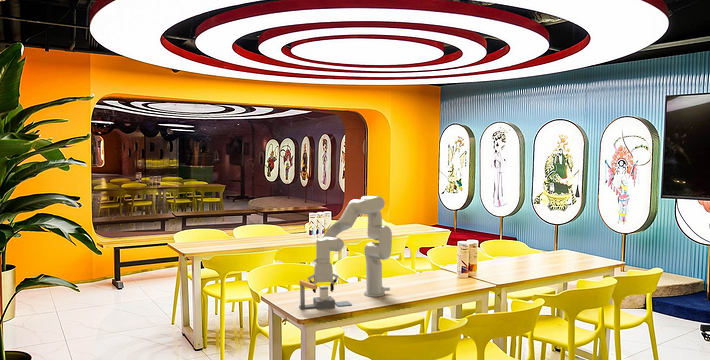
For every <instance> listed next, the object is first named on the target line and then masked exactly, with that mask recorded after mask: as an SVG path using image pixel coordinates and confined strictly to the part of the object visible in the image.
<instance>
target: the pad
mask: <svg viewBox="0 0 710 360" xmlns="http://www.w3.org/2000/svg"><path fill="white" fill-rule="evenodd" d="M335 306H337V307H338V308H339V307H350V306H353V304H352V303H351V302H350V301H349V300H345V301H344V300H343V301H335Z"/></svg>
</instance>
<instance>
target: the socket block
mask: <svg viewBox="0 0 710 360" xmlns="http://www.w3.org/2000/svg"><path fill="white" fill-rule="evenodd" d="M305 289H306V287H305V286H302V285H300V284H299V290H300V291H299V292H300V293H299V296H300V298H299V300H300V302H299V305H298V308H299V310H310V309H311V310H312V309H316V310H322V309H323V310H325V309H333V308H334V309H335V308H336V304H335V302H336V300H335V299H334V297H332V296H331V295H328V300H320V296H317V297H313V299H312V304H310V303H309V304H305V303H306V293H305Z"/></svg>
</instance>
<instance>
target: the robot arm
mask: <svg viewBox="0 0 710 360" xmlns="http://www.w3.org/2000/svg"><path fill="white" fill-rule="evenodd" d="M385 204H386V203H385V200H384V198H383V197H381V196H378V195H362V196H361V198H360V199H352V200H350V201H349V202H348V204H347V206H346V207H345V209H344V210H343V212H342V214H341V216H340V218H339V219H338V220H336V221H335V222H334V223H333V224H332V225H331V226H330V227H329V228H327V229H326V231H325V233H324V235H323V236H322V238H317V239H316V243H315V244H316V246H315V247H316V248H315V249H316V250H315V251H316V254H315V257H316V258H314V259H313V262H314V263H315V264H314V268H313V269H314V270H313V274H311V275H309V276H308V277H307V281H308V282H310V283H313V284H316V285H317V283H330V284H329V287H330V288H329V289H330V292H331V293H334V289H335V284H336V282H338V279H339V276H338V275H336V274H335V273H334V272H333V265H332V263H331V252H340V251H342V250H343V249H344V247H345V246H344V245H345V243H344V241H343V239H341V238H339V237H337V236H338V235H339V234H341V233H343V232H344V231H348V230H349V229H352V227H353V226H354V224H355V223H356V221H357V218H359V215H367V237H368V239H370V240H372V242H368V243H366V244H365V246H364V249H363V251H364V256H365V267H366V270H365V272H366V273H365V274H366V276H365V277H366V279H365V280H366V290H365V291H364V292H363V295H364V296H366V297H374V298H376V297H377V298H378V297H379V298H380V297H383V296H385V294H386V292H389V291H391V287H390V286H389V287H385V286H383V265H382V260H383V261H386V260H388V259H389V258H390V257H391V255H392V242H393V233H392V230H391V229H392V228H391V227H389V226H388V225H384V224H383V216H382V212H381V211H382V210H383V208H385ZM375 241H378V242H375ZM312 279H313V281H312ZM312 292H313V293H314V294H316V292H317V289H312Z"/></svg>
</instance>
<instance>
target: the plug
mask: <svg viewBox="0 0 710 360" xmlns="http://www.w3.org/2000/svg"><path fill="white" fill-rule="evenodd" d="M318 289H319V297H320V300H328V296H329V286H328V285H327V284H326V285H319V288H318Z"/></svg>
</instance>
